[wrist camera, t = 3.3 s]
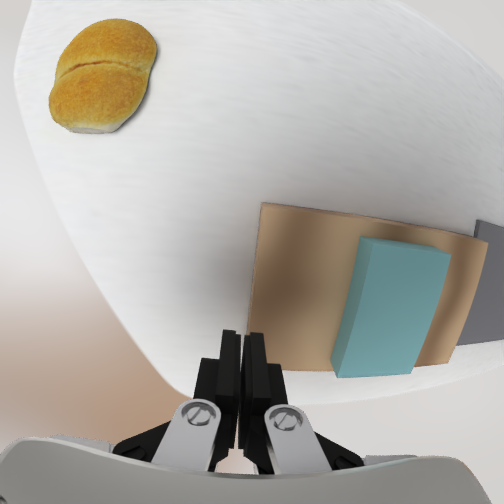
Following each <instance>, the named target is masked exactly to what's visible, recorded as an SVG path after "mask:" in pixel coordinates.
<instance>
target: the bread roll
mask: <svg viewBox="0 0 504 504" xmlns="http://www.w3.org/2000/svg"><path fill="white" fill-rule="evenodd" d="M156 50H157V46H156V42H155V40H154V38H153V37H152V36H151V34H150V33H149V32H148V31H147V30H146V29H145V28H144V27H142V26H141V25H140V24H138V23H135V22H132V21H128V20H124V19H108V20H103V21H100V22H97V23H94V24H92V25H90V26H88V27H87V28H85V29H84V30H82V31H81V32H80V33H79V34H78V35H77V36H76V37H75V38H74V39H73V40H72V41H71V43H70V44H69V45H68V46H67V47H66V49H65V50H64V51H63V53H62V54H61V56H60V58H59V61H58V64H57V68H56V74H55V83H54V87H53V88H52V90H51V93H50V96H49V109H50V113H51V115H52V118H53V120H54V121H55V122H56V123H59V124H60V125H61V126H62V127H64V128H66V129H67V130H69V131H70V132H75V133H87V134H93V133H95V134H96V133H103V132H105V133H110V132H113V131H115V130H116V129H117V128H119V127H120V126H121V125H122V124H123V123H124V122H125V121H126V120H127V119H128V118H129V117H130V116H131V115H132V114H133V113H134V112H135V110H136V109H137V108H138V106H139V104H140V103H141V101H142V99H143V96H144V94H145V92H146V88H147V83H148V77H149V74H150V69H151V66H152V64H153V62H154V60H155V56H156Z"/></svg>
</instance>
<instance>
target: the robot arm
mask: <svg viewBox="0 0 504 504" xmlns="http://www.w3.org/2000/svg"><path fill="white" fill-rule="evenodd" d="M240 362H241V335H240V334H236V331H233V330H223V334H222V342H221V350H220V358H219V359H210V358H201V363H200V367H199V372H198V377H197V382H196V387H195V392H194V397H193V399H190V400H188V401H185V402H183V403H182V404H180V406H179V407H178V408H177V410H176V412H175V414H174V416H173V418H172V420H171V421H169V422H167V423H164V424H162V425H160V426H157V427H155V428H153V429H150V430H148V431H146V432H143V433H141V434H138V435H136V436H133V437H131V438H128V439H126V440H123V441H122V442H120V443H118V444H117V445H116V444H110V442H109V441H102V440H93V439H85V438H78V437H71V436H66V435H54V436H52V437H50V438H44V437H24V438H20V439H17V440H15V441H13V442H12V443H11V444H9V445H8V446H7V447H6V448H5V449H4V450H3V452H2V453H1V454H0V504H492V503H491V501H490V500H489V498H488V496H487V495H486V493H485V491H484V489H483V488H482V486H481V484H480V483H479V481H478V480H477V478H476V477H475V476H474V474H473V473H472V472H471V470H470V469H469V468H468V467H467V466H466V465H465V464H464V463H463V462H461V461H460V460H458V459H455V458H451V457H445V456H421V457H417V456H415V455H392V456H391V455H390V456H369V455H368V456H366V457H365V458H360V456H358V455H357V454H355V453H353V452H351V451H349V450H347V449H346V448H344V447H342V446H340V445H338V444H336V443H334V442H332V441H330V440H328V439H327V438H325V437H323V436H321V435H320V434H318V433H316V432H314V431H313V429H312V427H311V424H310V422H309V420H308V418H307V416H306V415H305V413H304V412H303V411H302V410H300V409H299V408H297V407H295V406H292V405H288V400H287V395H286V390H285V384H284V379H283V374H282V368H281V364H276V363H267V358H266V350H265V342H264V334H263V333H258V332H250V335H245V337H244V345H243V354H242V363H241V372H240ZM237 419H238V449H243V450H244V452H243V454H244V457H246V458H248V459H249V460H250V461H252V462H253V463H254V472H255V475H253V474H251V475H250V474H229V473H217V472H216V471H217V467H218V462H219V461H221V460H222V459H224V458H225V457H227V456H228V452H229V451H228V450H229V448H231V449H234V442H235V434H236V426H237Z"/></svg>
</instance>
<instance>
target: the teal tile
mask: <svg viewBox="0 0 504 504" xmlns="http://www.w3.org/2000/svg"><path fill="white" fill-rule="evenodd" d="M450 259H451V254H449V253H447V252H445V251H442V250H440V249H438V248H436V247H433V246H426V245H420V244H413V243H406V242H399V241H392V240H385V239H378V238H371V237H363V236H360V239H359V244H358V250H357V255H356V260H355V265H354V269H353V274H352V279H351V283H350V288H349V292H348V296H347V300H346V305H345V309H344V313H343V316H342V320H341V324H340V328H339V332H338V335H337V339H336V342H335V346H334V349H333V353H332V356H331V360H330V361H331V364H332V366H333V369H334V372H335V374H336V377H337V378H350V377H373V376H388V375H400V374H410V373H411V371H412V369H413V367H414V365H415V362H416V360H417V358H418V355H419V353H420V351H421V348H422V346H423V343H424V341H425V338H426V336H427V333H428V330H429V328H430V325H431V322H432V319H433V316H434V314H435V311H436V308H437V305H438V301H439V298H440V295H441V292H442V288H443V285H444V281H445V278H446V274H447V270H448V267H449V263H450Z"/></svg>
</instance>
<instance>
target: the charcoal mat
mask: <svg viewBox="0 0 504 504" xmlns="http://www.w3.org/2000/svg"><path fill="white" fill-rule="evenodd" d="M474 238H477V239H479V240H482V241H485V242H487V243H488V248H487V252H486V256H485V260H484V264H483V268H482V272H481V276H480V279H479V283H478V286H477V289H476V292H475V296H474V299H473V302H472V305H471V308H470V310H469V313H468V316H467V319H466V321H465V324H464V327H463V329H462V332H461V334H460V337H459V339H458V342H457V344H456V346H458V345H467V344H475V343H482V342H489V341H496V340H502V339H504V228H503V227H500V226H497V225H493V224H490V223H487V222H483V221H480V220H477V222H476V227H475V232H474Z"/></svg>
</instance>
